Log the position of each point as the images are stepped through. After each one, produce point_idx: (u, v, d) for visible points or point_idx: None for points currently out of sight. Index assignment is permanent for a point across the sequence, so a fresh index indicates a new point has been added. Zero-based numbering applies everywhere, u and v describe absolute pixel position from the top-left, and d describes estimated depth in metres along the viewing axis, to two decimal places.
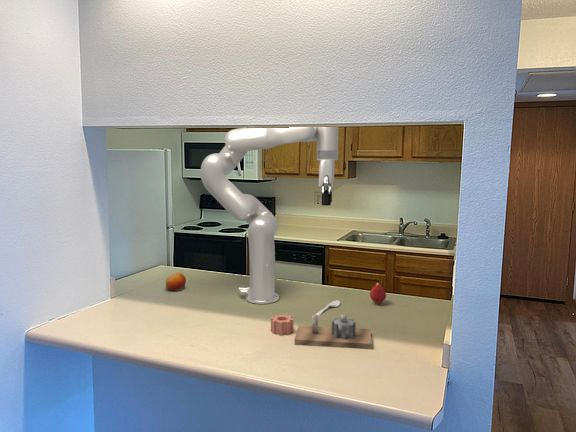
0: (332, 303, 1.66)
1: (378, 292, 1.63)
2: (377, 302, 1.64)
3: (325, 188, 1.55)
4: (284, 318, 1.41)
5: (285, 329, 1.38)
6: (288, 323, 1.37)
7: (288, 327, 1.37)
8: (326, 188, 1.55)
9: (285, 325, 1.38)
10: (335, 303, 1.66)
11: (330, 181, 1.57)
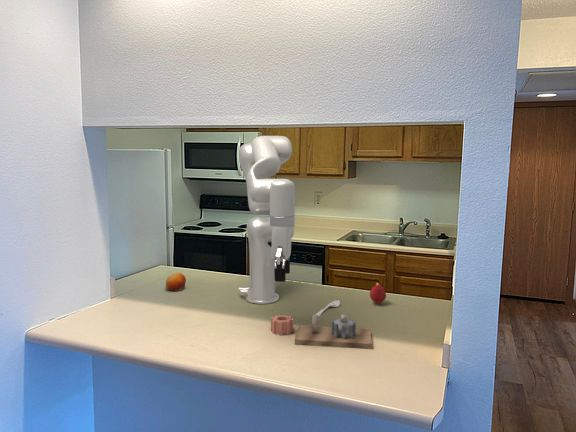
0: (332, 303, 1.66)
1: (378, 292, 1.63)
2: (377, 302, 1.64)
3: (277, 263, 1.30)
4: (284, 318, 1.41)
5: (285, 329, 1.38)
6: (288, 323, 1.37)
7: (288, 327, 1.37)
8: (279, 263, 1.30)
9: (285, 325, 1.38)
10: (335, 303, 1.66)
11: (284, 253, 1.32)
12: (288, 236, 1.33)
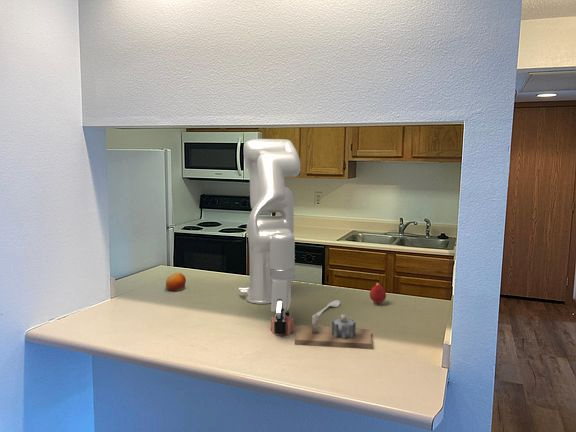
0: (332, 303, 1.66)
1: (378, 292, 1.63)
2: (377, 302, 1.64)
3: (278, 318, 1.33)
4: None
5: None
6: (288, 323, 1.37)
7: (288, 327, 1.37)
8: (279, 317, 1.33)
9: None
10: (335, 303, 1.66)
11: (284, 306, 1.34)
12: (288, 288, 1.35)
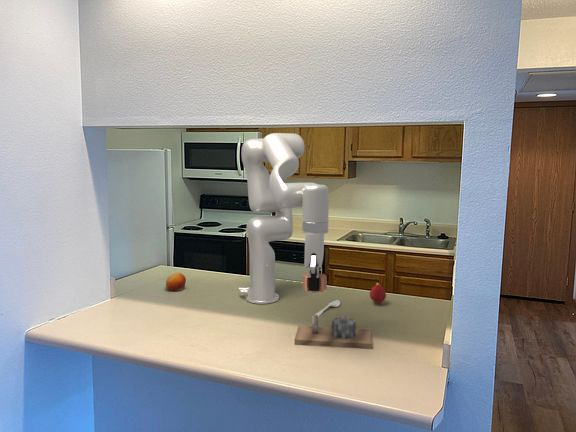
0: (332, 303, 1.66)
1: (378, 292, 1.63)
2: (377, 302, 1.64)
3: (312, 272, 1.26)
4: None
5: None
6: (322, 280, 1.30)
7: (322, 284, 1.30)
8: (313, 272, 1.26)
9: None
10: (335, 303, 1.66)
11: (318, 260, 1.27)
12: (322, 242, 1.28)
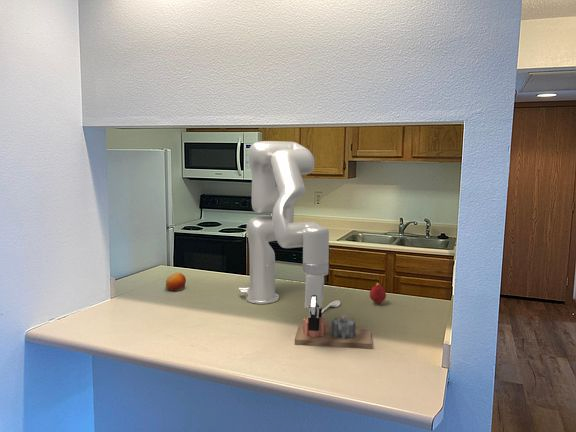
0: (332, 303, 1.66)
1: (378, 292, 1.63)
2: (377, 302, 1.64)
3: (312, 313, 1.26)
4: None
5: (318, 331, 1.32)
6: (322, 325, 1.32)
7: (322, 329, 1.32)
8: (313, 313, 1.26)
9: None
10: (335, 303, 1.66)
11: (319, 302, 1.28)
12: (322, 284, 1.30)
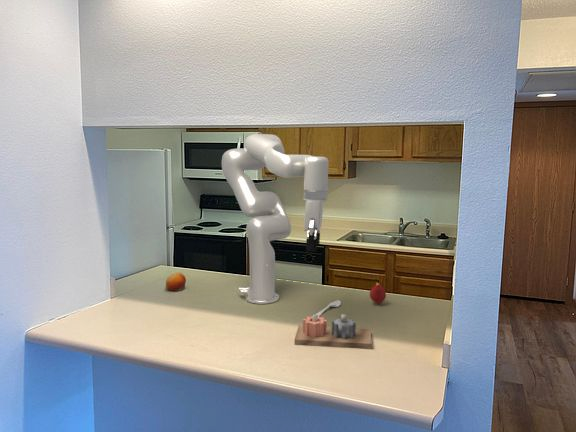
0: (333, 303, 1.66)
1: (378, 292, 1.63)
2: (377, 302, 1.64)
3: (310, 233, 1.39)
4: None
5: (318, 331, 1.32)
6: (322, 325, 1.32)
7: (322, 329, 1.32)
8: (311, 234, 1.39)
9: (318, 327, 1.32)
10: (336, 303, 1.66)
11: (316, 225, 1.41)
12: (320, 209, 1.42)
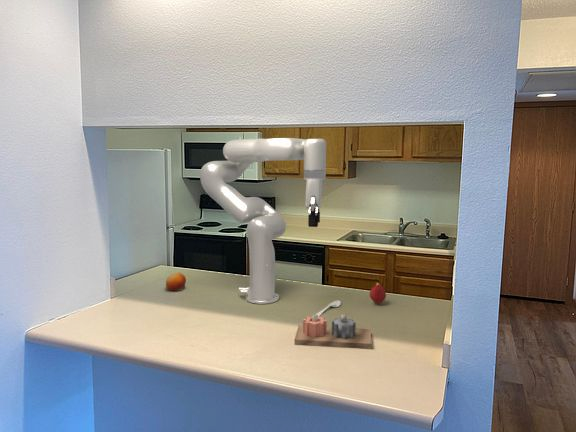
0: (333, 303, 1.66)
1: (378, 292, 1.63)
2: (377, 302, 1.64)
3: (312, 209, 1.49)
4: None
5: (318, 331, 1.32)
6: (322, 325, 1.32)
7: (322, 329, 1.32)
8: (313, 209, 1.49)
9: (318, 327, 1.32)
10: (336, 303, 1.66)
11: (317, 202, 1.51)
12: (320, 187, 1.52)
